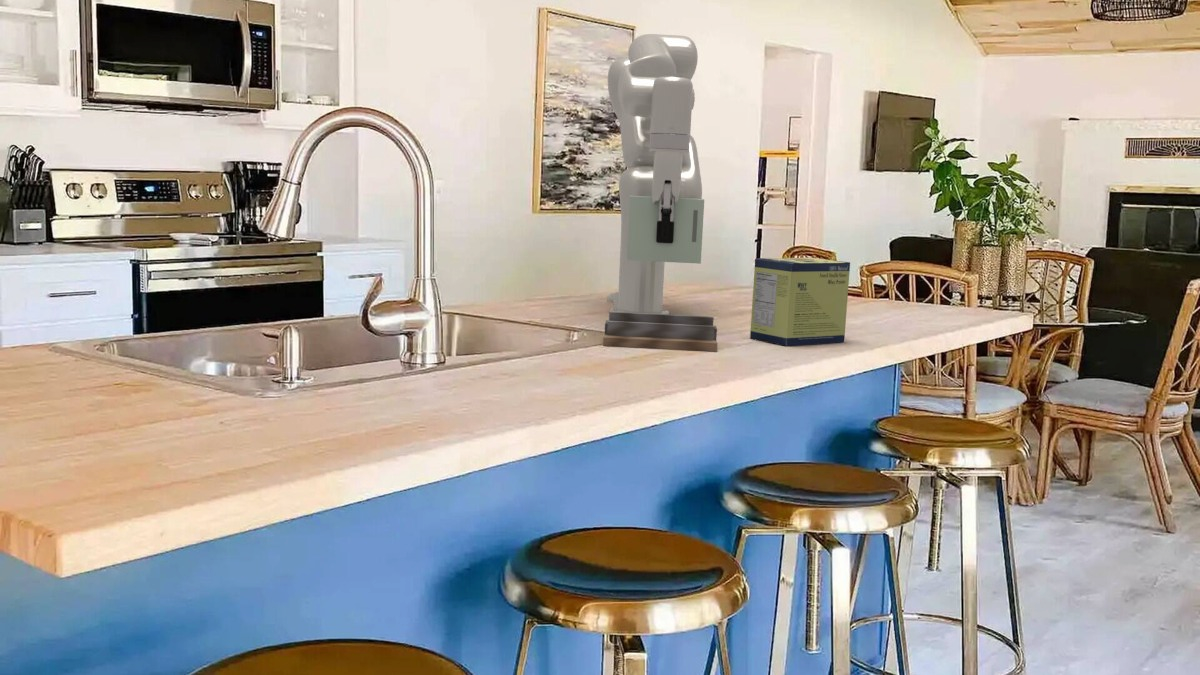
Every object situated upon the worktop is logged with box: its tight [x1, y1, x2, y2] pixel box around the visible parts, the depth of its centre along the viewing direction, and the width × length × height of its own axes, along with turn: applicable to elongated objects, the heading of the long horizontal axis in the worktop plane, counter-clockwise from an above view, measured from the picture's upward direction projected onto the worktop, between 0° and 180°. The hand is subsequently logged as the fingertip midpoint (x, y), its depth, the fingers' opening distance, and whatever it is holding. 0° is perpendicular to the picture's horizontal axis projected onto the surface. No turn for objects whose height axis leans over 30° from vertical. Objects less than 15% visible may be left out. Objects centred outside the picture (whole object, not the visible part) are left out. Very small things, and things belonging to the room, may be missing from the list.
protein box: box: [749, 256, 851, 347], centre depth 224 cm, size 10×16×16 cm
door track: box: [602, 311, 718, 353], centre depth 213 cm, size 20×12×5 cm, turn 87°
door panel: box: [627, 196, 705, 264], centre depth 223 cm, size 14×3×12 cm, turn 87°
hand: (664, 241), depth 224 cm, fingers closed on door panel, 3 cm apart
